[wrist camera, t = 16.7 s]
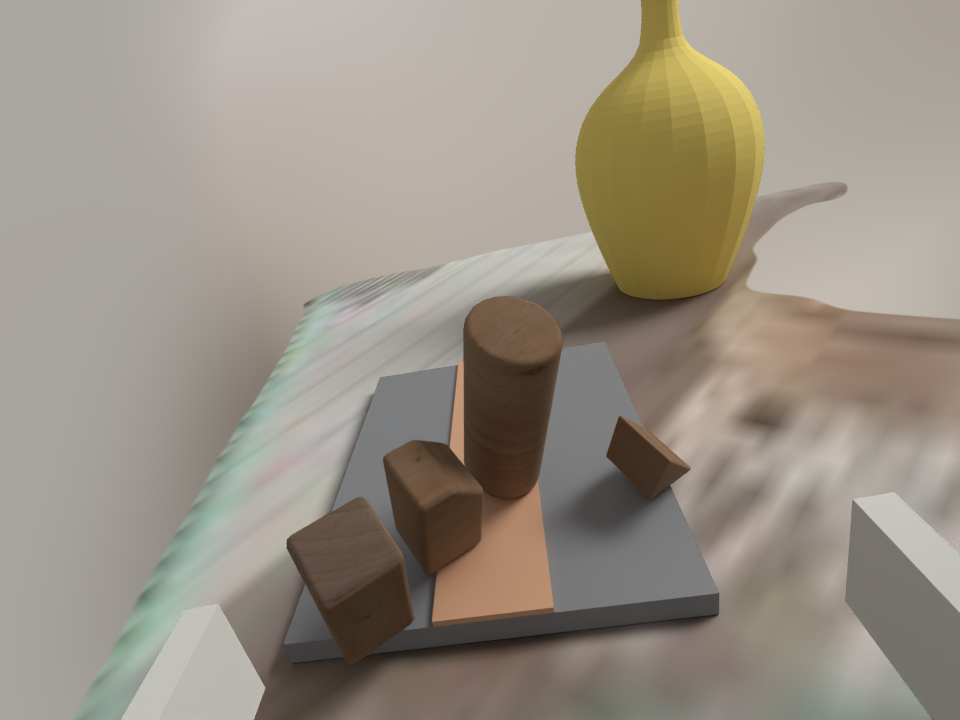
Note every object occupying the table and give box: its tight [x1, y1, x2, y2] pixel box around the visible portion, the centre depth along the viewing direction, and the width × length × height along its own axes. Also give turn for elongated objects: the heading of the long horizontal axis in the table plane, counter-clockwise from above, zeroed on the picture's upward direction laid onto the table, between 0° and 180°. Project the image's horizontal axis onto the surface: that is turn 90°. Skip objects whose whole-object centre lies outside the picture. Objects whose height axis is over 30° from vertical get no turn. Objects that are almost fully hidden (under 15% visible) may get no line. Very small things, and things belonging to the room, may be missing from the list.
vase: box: [575, 0, 765, 300], centre depth 50 cm, size 16×16×28 cm
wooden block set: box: [287, 296, 691, 664], centre depth 24 cm, size 18×9×10 cm, turn 124°
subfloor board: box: [283, 342, 719, 663], centre depth 34 cm, size 18×24×2 cm
